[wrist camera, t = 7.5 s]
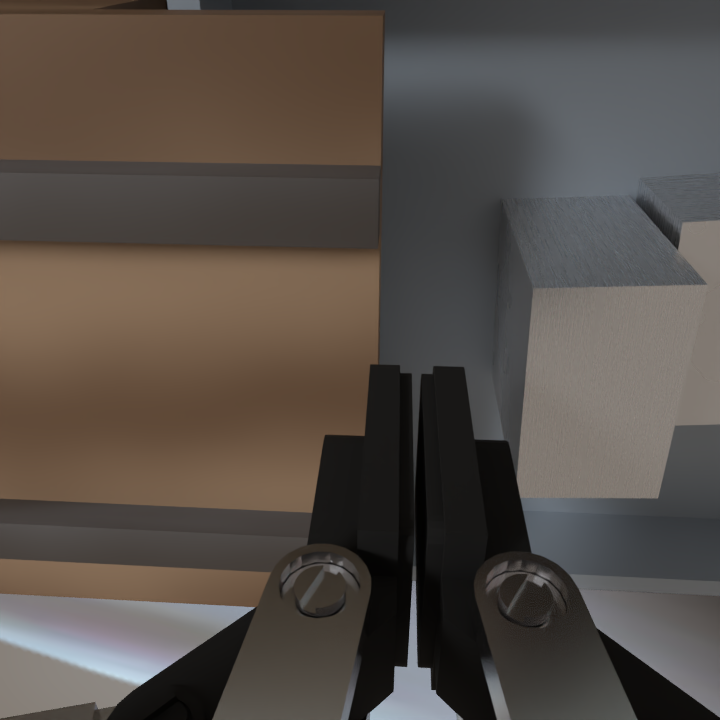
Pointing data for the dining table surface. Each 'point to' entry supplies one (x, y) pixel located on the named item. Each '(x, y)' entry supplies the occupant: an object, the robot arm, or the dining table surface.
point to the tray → (538, 180)
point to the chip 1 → (590, 345)
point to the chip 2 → (709, 259)
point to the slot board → (180, 288)
